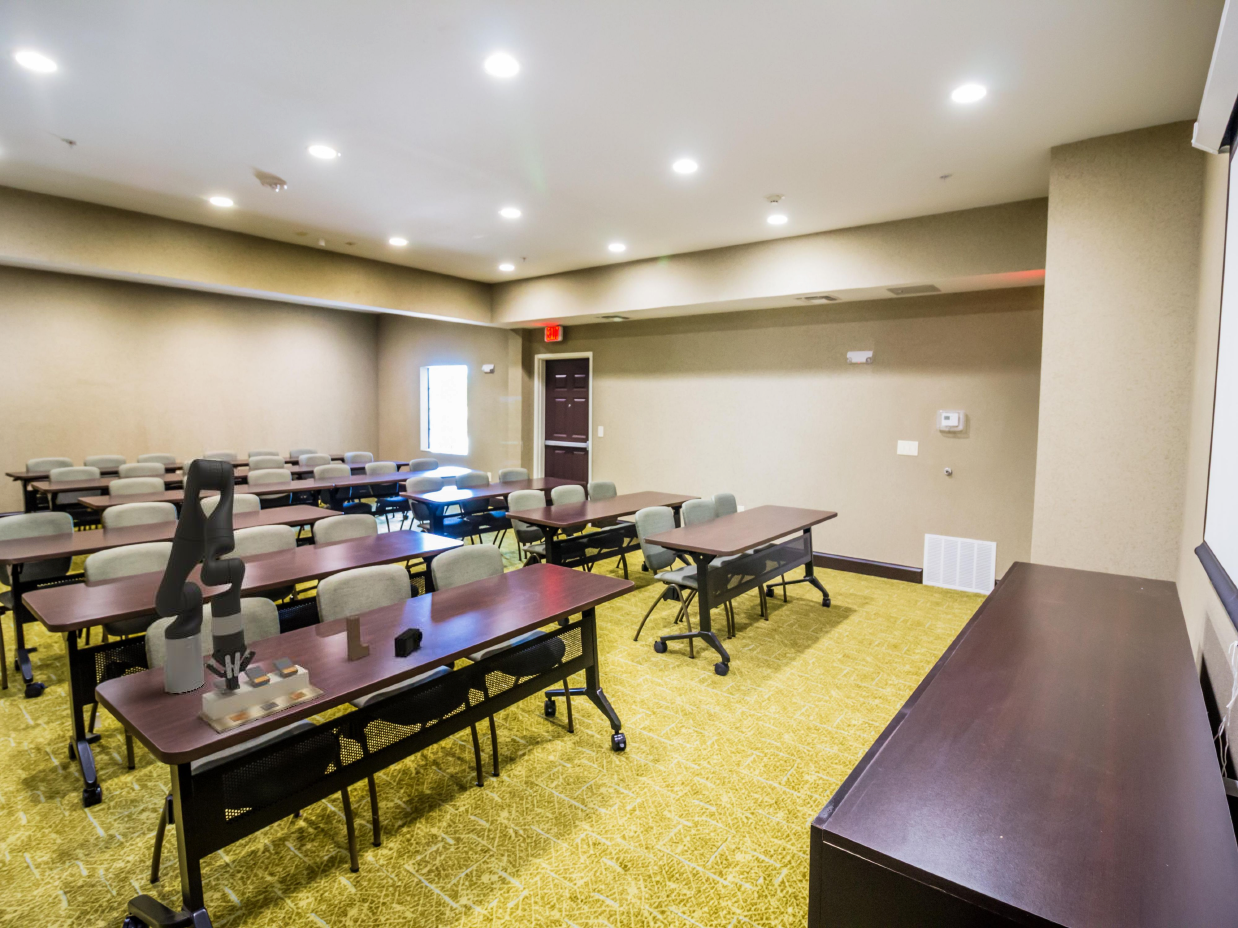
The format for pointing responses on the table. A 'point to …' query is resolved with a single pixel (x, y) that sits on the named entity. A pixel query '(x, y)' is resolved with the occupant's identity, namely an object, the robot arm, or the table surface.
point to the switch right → (285, 667)
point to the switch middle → (257, 676)
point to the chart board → (262, 709)
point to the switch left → (223, 686)
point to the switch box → (253, 693)
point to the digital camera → (407, 642)
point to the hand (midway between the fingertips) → (232, 688)
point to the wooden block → (355, 639)
